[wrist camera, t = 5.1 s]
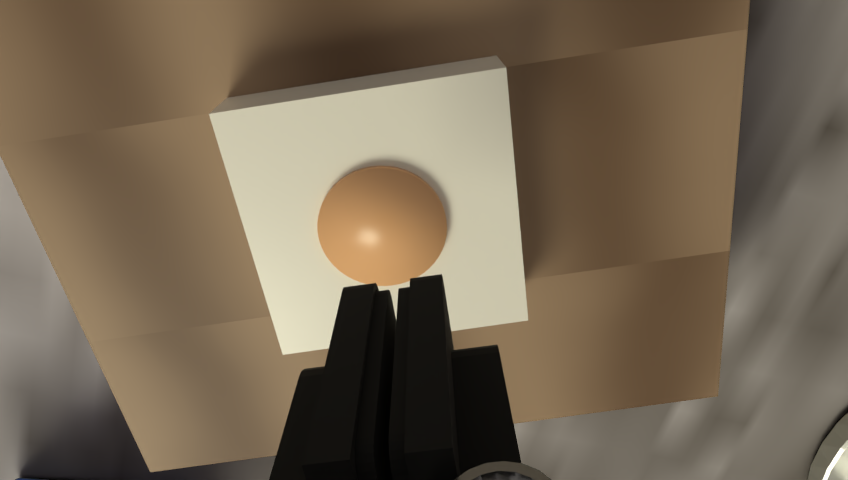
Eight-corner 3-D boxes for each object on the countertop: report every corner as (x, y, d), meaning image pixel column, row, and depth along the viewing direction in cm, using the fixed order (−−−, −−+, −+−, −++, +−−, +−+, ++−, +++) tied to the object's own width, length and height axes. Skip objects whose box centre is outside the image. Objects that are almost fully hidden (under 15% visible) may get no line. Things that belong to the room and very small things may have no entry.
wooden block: (669, -193, 16) (769, -244, 12) (657, 308, 23) (717, 396, 19) (20, -83, 17) (-116, -91, 13) (197, 373, 24) (150, 472, 20)
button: (475, 29, 18) (507, 69, 13) (496, 223, 21) (529, 325, 16) (265, 63, 19) (205, 116, 13) (313, 250, 21) (281, 359, 16)
